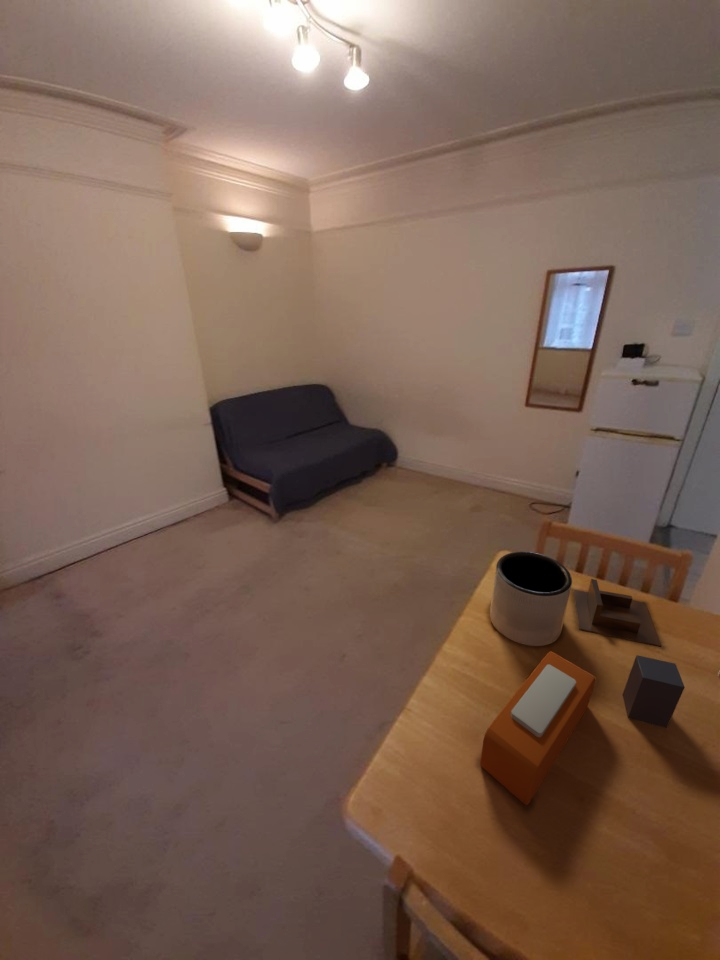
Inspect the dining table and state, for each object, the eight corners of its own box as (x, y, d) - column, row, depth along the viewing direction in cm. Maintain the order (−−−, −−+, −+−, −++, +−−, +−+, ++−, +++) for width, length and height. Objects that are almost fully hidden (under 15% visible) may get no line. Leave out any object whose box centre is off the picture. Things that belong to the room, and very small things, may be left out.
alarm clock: (544, 682, 82) (553, 641, 78) (587, 710, 77) (599, 668, 72) (478, 770, 68) (484, 727, 63) (525, 811, 62) (535, 768, 58)
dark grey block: (657, 707, 77) (675, 663, 71) (664, 732, 72) (685, 687, 67) (620, 698, 79) (636, 654, 73) (626, 722, 74) (643, 677, 69)
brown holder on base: (643, 607, 100) (651, 583, 97) (659, 650, 88) (669, 625, 85) (572, 594, 105) (577, 570, 102) (578, 633, 93) (584, 608, 90)
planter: (477, 626, 97) (483, 574, 90) (506, 591, 107) (513, 542, 100) (546, 662, 87) (558, 607, 80) (570, 619, 97) (582, 568, 90)
